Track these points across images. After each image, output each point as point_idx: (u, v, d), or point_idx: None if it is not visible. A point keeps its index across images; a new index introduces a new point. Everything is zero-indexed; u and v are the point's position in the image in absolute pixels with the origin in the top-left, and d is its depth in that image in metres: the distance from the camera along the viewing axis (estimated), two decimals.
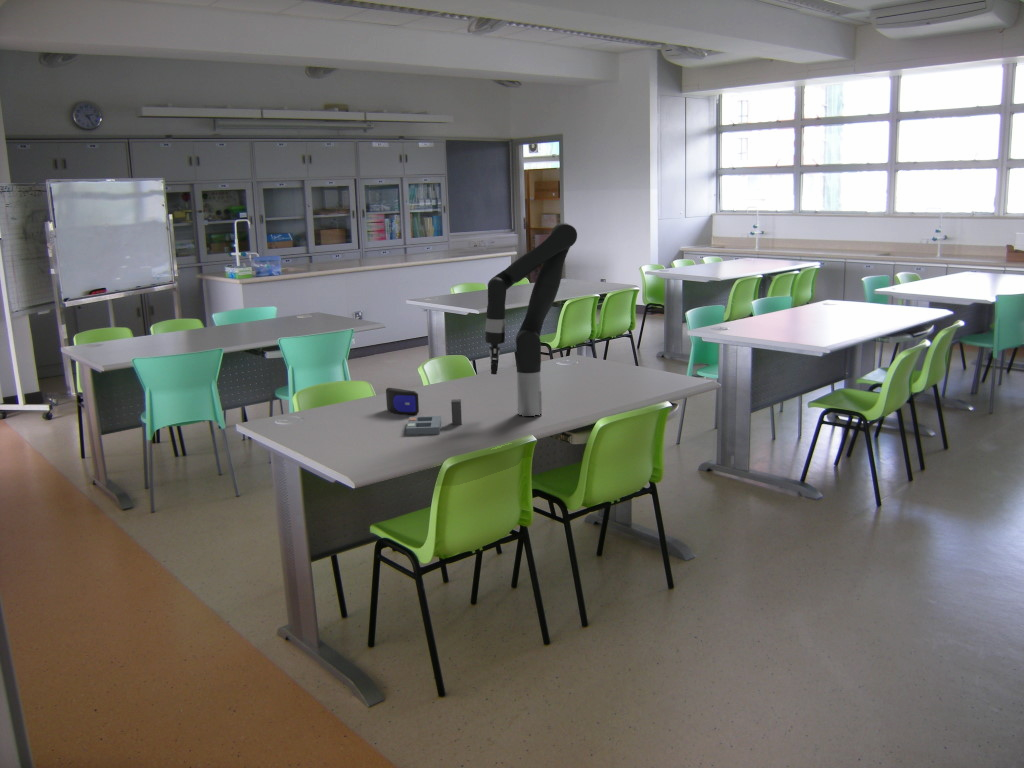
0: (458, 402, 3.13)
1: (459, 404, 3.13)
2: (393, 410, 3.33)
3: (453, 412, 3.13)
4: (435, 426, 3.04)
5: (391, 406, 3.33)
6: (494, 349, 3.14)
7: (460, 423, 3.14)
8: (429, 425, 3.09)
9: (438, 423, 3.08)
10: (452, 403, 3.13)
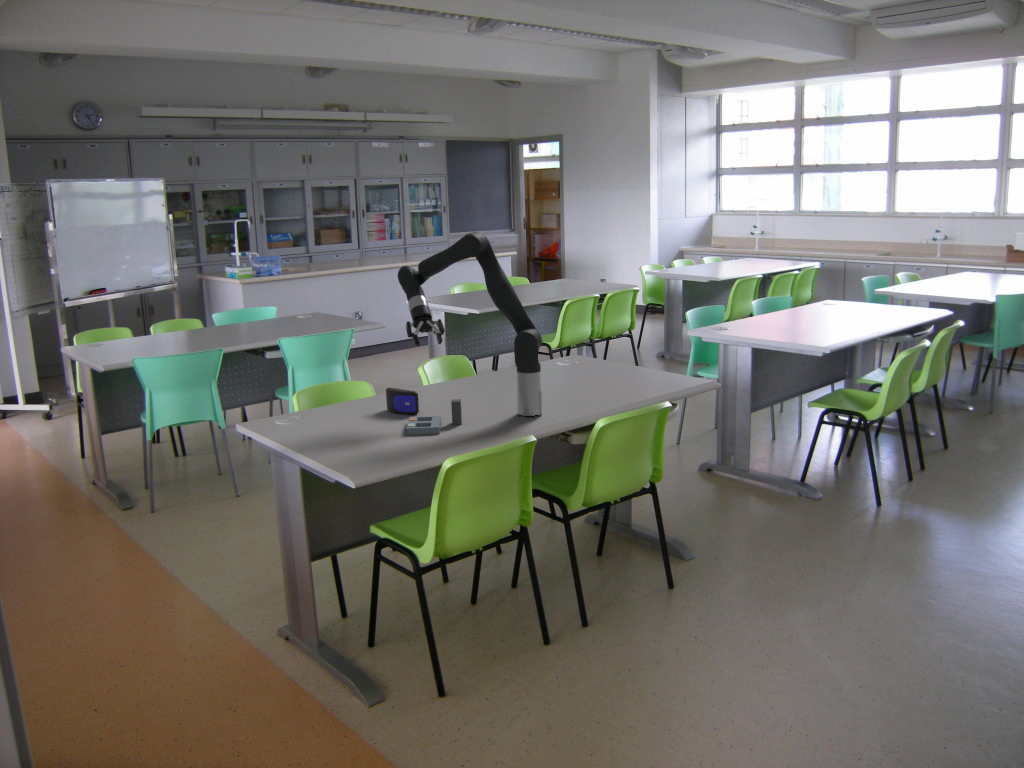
0: (458, 402, 3.13)
1: (459, 404, 3.13)
2: (393, 410, 3.33)
3: (453, 412, 3.13)
4: (435, 426, 3.04)
5: (391, 406, 3.33)
6: (406, 324, 3.20)
7: (460, 423, 3.14)
8: (429, 425, 3.09)
9: (438, 423, 3.08)
10: (452, 403, 3.13)
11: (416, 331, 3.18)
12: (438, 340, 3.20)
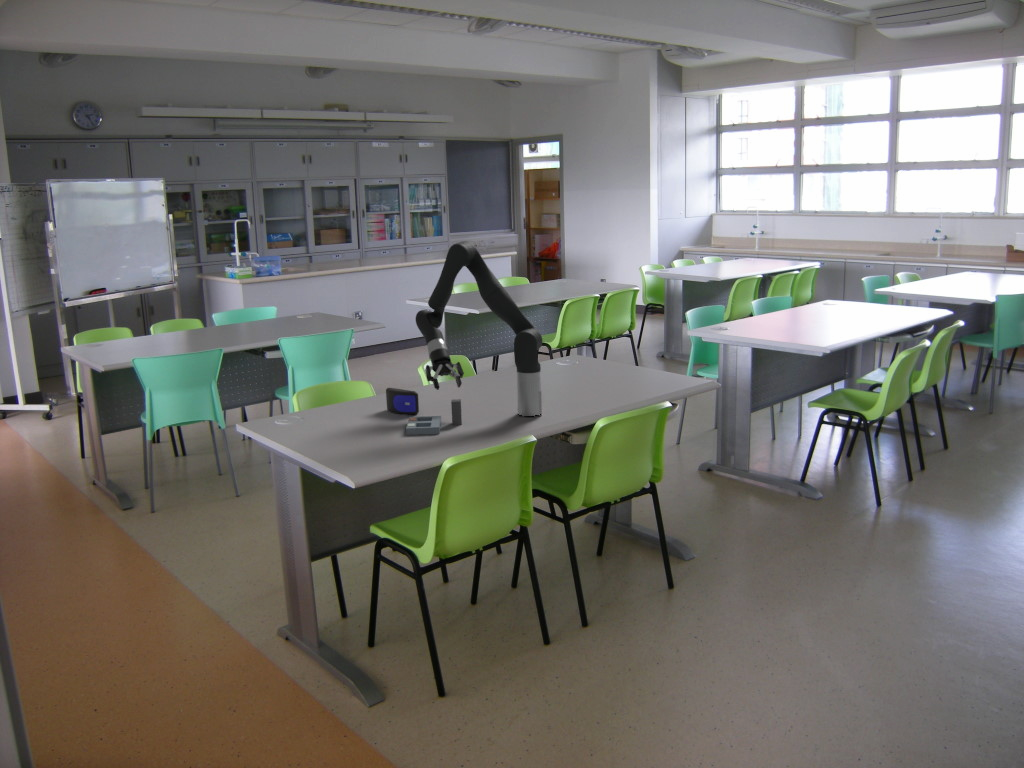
0: (458, 402, 3.13)
1: (459, 404, 3.13)
2: (393, 410, 3.33)
3: (453, 412, 3.13)
4: (435, 426, 3.04)
5: (391, 406, 3.33)
6: (425, 368, 3.23)
7: (460, 423, 3.14)
8: (429, 425, 3.09)
9: (438, 423, 3.08)
10: (452, 403, 3.13)
11: (435, 375, 3.21)
12: (457, 383, 3.23)
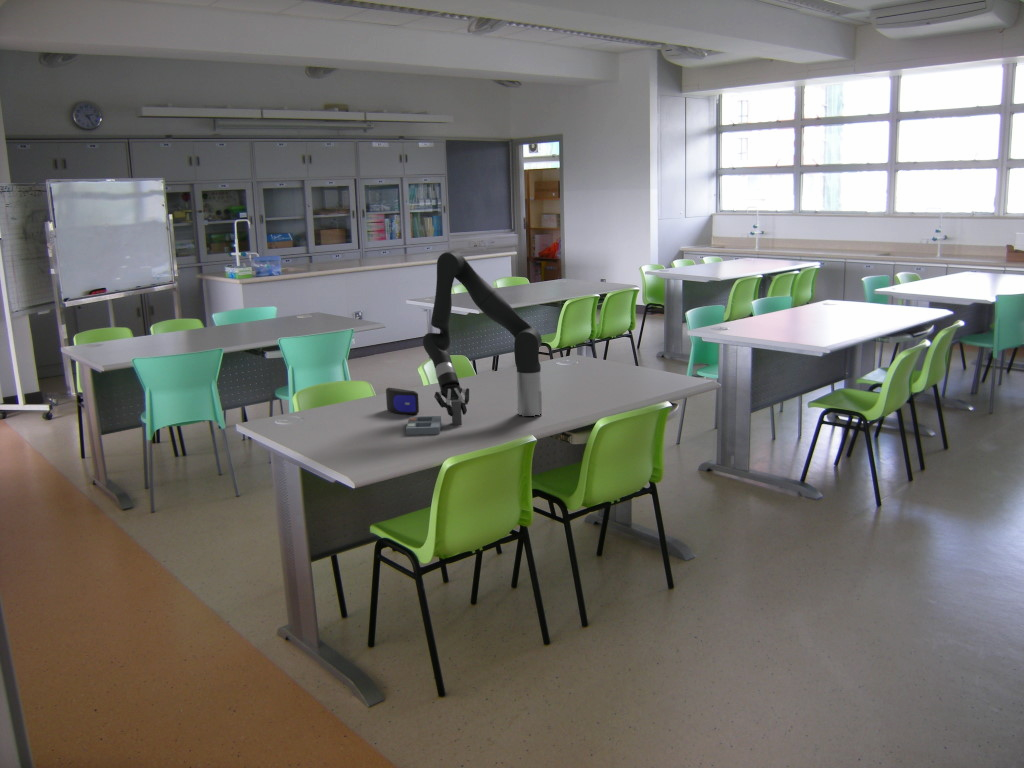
0: (458, 402, 3.13)
1: (459, 404, 3.13)
2: (393, 410, 3.33)
3: (453, 412, 3.13)
4: (435, 426, 3.04)
5: (391, 406, 3.33)
6: (435, 395, 3.16)
7: (460, 423, 3.14)
8: (429, 425, 3.09)
9: (438, 423, 3.08)
10: (452, 403, 3.13)
11: (448, 401, 3.14)
12: (462, 410, 3.15)
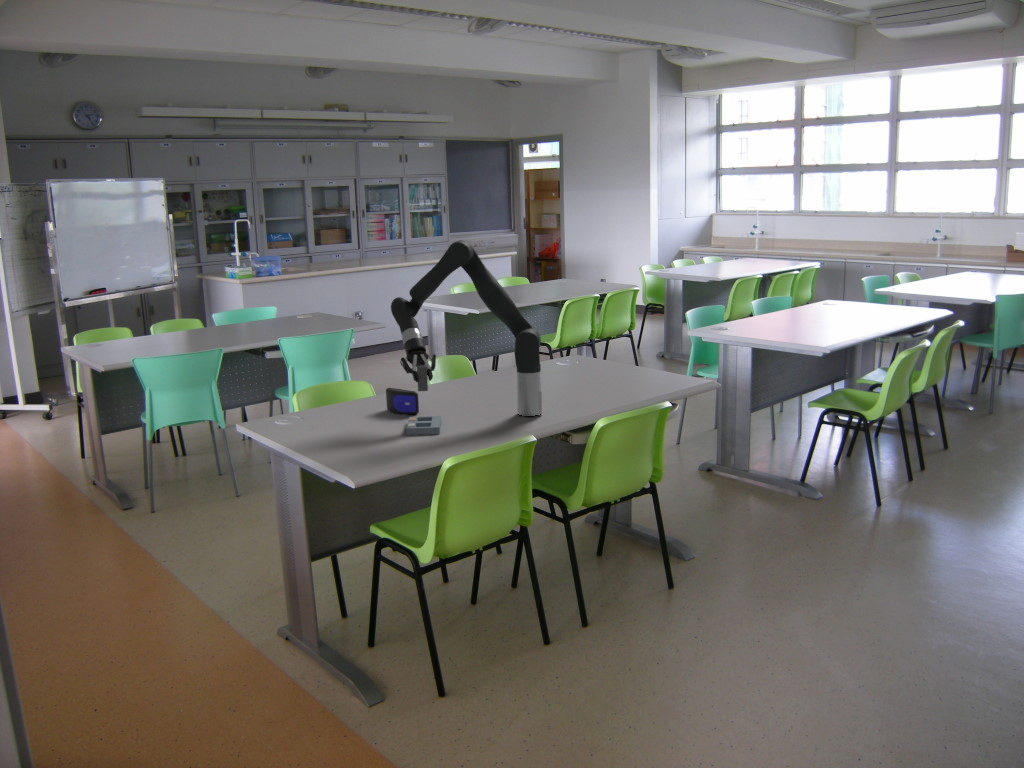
0: (424, 368, 3.08)
1: (425, 370, 3.08)
2: (393, 410, 3.33)
3: (419, 378, 3.09)
4: (435, 426, 3.04)
5: (391, 406, 3.33)
6: (400, 361, 3.11)
7: (426, 389, 3.10)
8: (429, 425, 3.09)
9: (438, 423, 3.08)
10: (418, 369, 3.08)
11: (414, 366, 3.10)
12: (428, 376, 3.10)
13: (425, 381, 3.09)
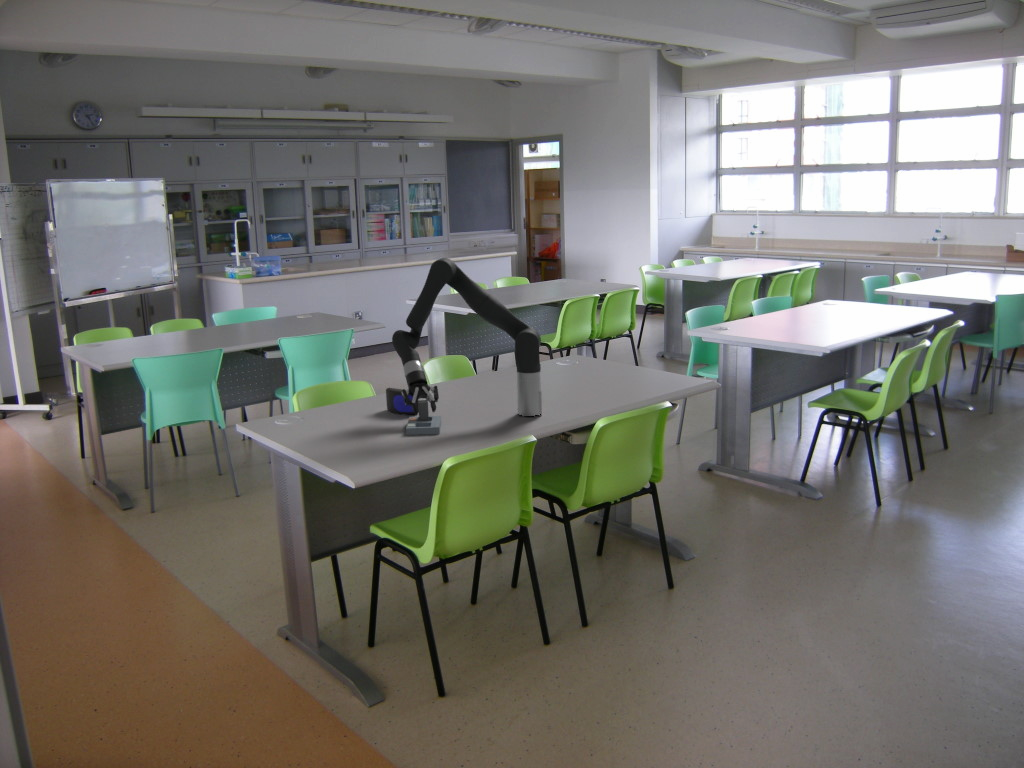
0: (425, 403, 3.11)
1: (426, 405, 3.11)
2: (393, 410, 3.33)
3: (420, 413, 3.12)
4: (435, 426, 3.04)
5: (391, 406, 3.33)
6: (402, 392, 3.14)
7: None
8: (429, 425, 3.09)
9: (438, 423, 3.08)
10: (419, 404, 3.11)
11: (414, 399, 3.12)
12: (432, 408, 3.14)
13: (426, 416, 3.12)
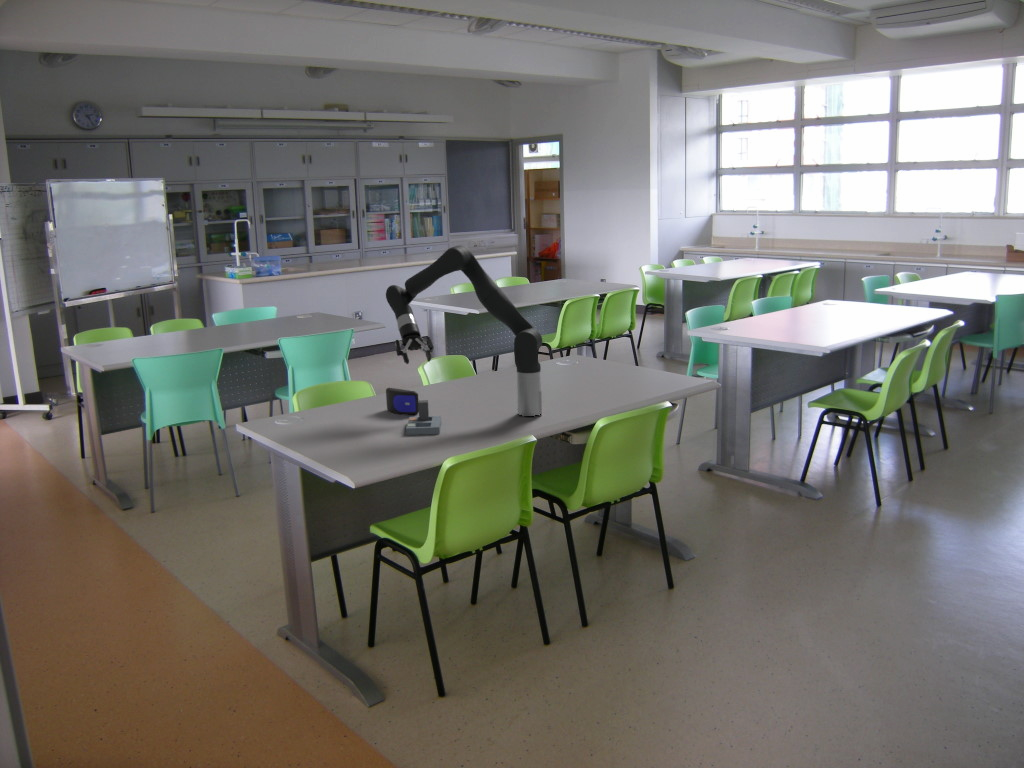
0: (425, 403, 3.11)
1: (426, 405, 3.11)
2: (393, 410, 3.33)
3: (420, 413, 3.12)
4: (435, 426, 3.04)
5: (391, 406, 3.33)
6: (395, 342, 3.24)
7: None
8: (429, 425, 3.09)
9: (438, 423, 3.08)
10: (419, 404, 3.11)
11: (405, 349, 3.22)
12: (427, 357, 3.23)
13: (426, 416, 3.12)
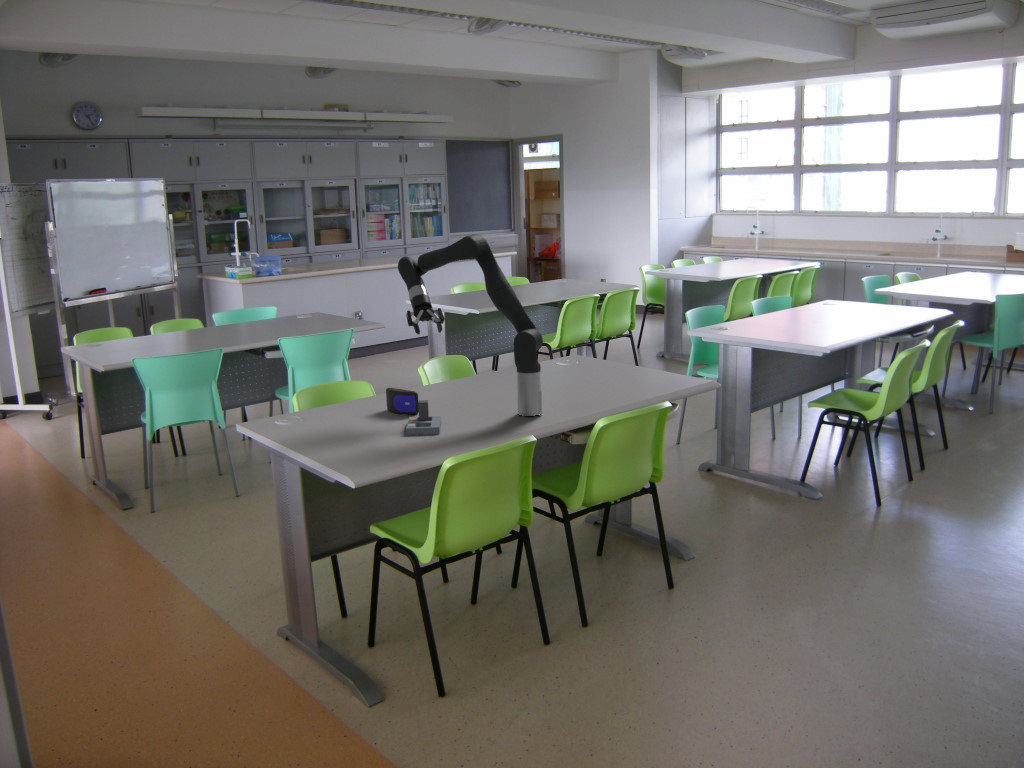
0: (425, 403, 3.11)
1: (426, 405, 3.11)
2: (393, 410, 3.33)
3: (420, 413, 3.12)
4: (435, 426, 3.04)
5: (391, 406, 3.33)
6: None
7: None
8: (429, 425, 3.09)
9: (438, 423, 3.08)
10: (419, 404, 3.11)
11: (416, 320, 3.23)
12: (438, 328, 3.25)
13: (426, 416, 3.12)
